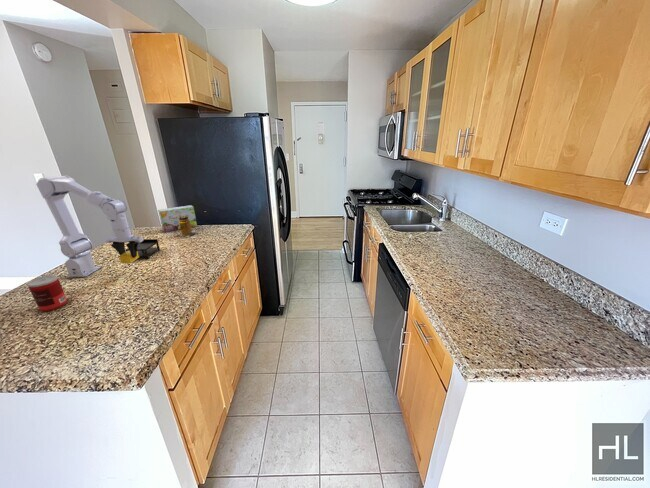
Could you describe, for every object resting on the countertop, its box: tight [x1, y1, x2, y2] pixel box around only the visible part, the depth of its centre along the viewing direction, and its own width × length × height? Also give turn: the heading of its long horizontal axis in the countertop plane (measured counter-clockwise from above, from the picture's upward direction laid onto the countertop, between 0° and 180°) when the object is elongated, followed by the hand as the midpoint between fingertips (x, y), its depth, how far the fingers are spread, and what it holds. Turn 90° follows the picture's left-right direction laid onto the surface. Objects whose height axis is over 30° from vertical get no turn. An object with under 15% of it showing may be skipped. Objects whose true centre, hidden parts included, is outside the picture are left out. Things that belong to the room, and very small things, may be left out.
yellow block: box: [119, 251, 140, 264], centre depth 117 cm, size 6×4×4 cm, turn 3°
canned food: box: [27, 274, 68, 312], centre depth 95 cm, size 8×8×11 cm
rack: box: [125, 238, 161, 260], centre depth 140 cm, size 12×10×7 cm
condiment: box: [179, 216, 197, 238], centre depth 170 cm, size 7×8×12 cm
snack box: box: [157, 204, 198, 233], centre depth 181 cm, size 21×6×15 cm, turn 132°
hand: (129, 256), depth 117 cm, fingers closed on yellow block, 4 cm apart
